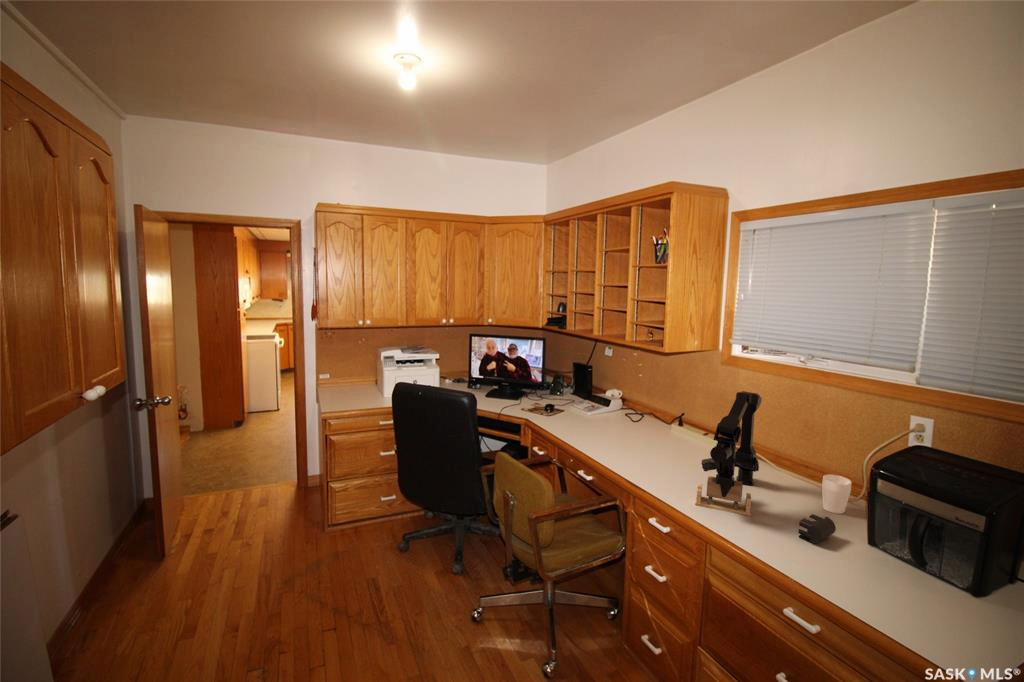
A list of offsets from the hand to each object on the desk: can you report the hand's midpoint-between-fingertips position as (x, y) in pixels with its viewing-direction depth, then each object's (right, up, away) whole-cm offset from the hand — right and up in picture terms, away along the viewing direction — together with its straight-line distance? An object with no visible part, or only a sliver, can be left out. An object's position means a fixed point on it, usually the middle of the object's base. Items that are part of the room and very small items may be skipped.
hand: (723, 493), depth 183 cm
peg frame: (0, -5, +1) cm, 5 cm away
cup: (+41, -6, -1) cm, 41 cm away
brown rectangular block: (0, -1, 0) cm, 1 cm away
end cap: (+22, -9, -21) cm, 31 cm away
